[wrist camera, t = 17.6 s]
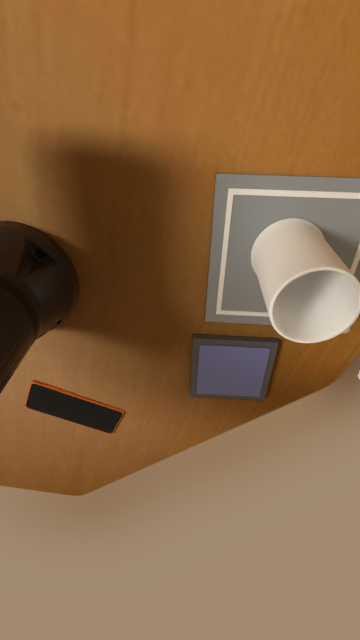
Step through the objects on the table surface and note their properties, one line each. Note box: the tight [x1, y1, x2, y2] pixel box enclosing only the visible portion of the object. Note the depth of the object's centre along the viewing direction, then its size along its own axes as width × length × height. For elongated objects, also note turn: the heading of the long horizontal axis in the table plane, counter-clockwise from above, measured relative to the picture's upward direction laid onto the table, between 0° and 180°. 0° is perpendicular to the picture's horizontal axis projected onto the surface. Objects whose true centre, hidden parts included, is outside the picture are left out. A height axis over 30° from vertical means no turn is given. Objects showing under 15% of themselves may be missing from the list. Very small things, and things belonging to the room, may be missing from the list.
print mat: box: [205, 173, 360, 325], centre depth 39 cm, size 19×19×1 cm
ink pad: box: [190, 334, 279, 401], centre depth 49 cm, size 12×12×1 cm
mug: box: [251, 218, 360, 343], centre depth 34 cm, size 12×8×12 cm
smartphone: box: [25, 381, 125, 434], centre depth 58 cm, size 8×17×1 cm, turn 65°
